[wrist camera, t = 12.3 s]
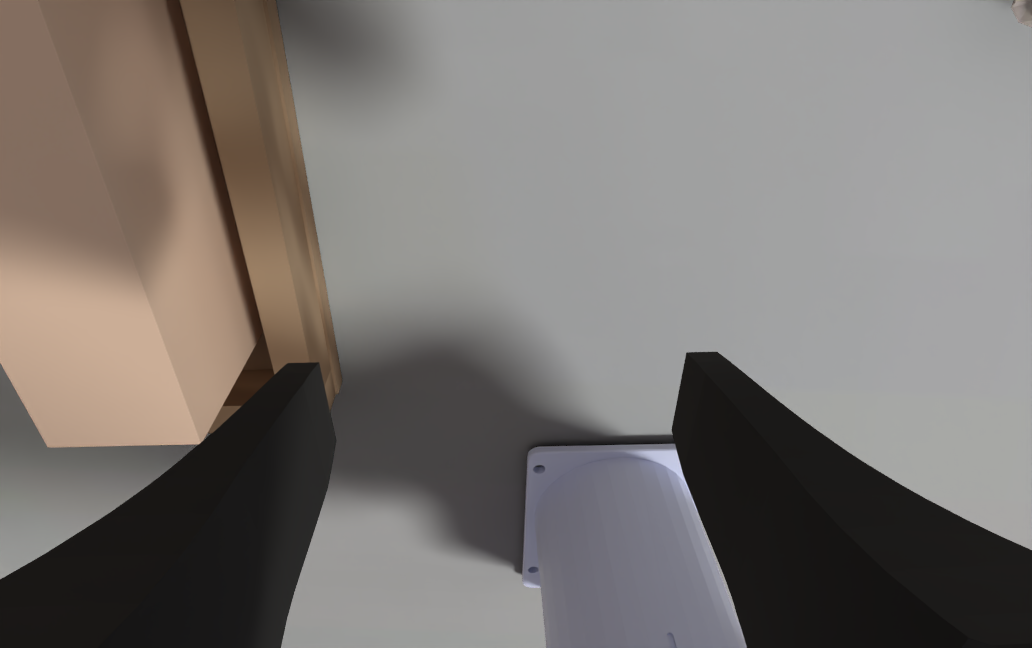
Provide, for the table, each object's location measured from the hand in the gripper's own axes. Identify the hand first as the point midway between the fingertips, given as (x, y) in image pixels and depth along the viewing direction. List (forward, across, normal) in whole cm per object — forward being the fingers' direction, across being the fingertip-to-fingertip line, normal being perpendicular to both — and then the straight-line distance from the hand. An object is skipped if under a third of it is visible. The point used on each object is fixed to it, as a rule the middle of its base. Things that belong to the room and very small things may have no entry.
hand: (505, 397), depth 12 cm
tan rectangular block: (+8, +10, -3) cm, 13 cm away
